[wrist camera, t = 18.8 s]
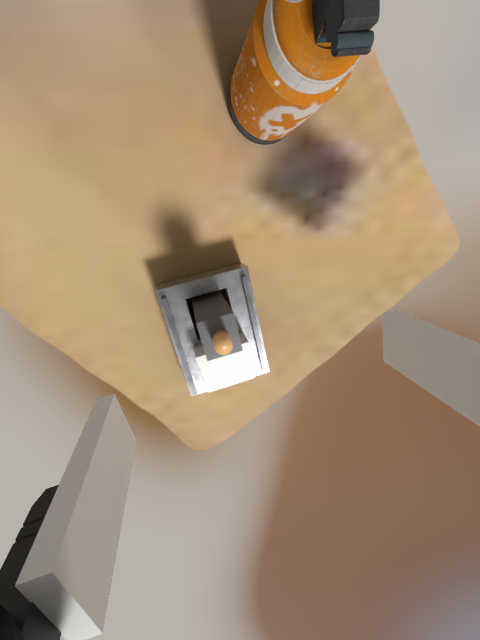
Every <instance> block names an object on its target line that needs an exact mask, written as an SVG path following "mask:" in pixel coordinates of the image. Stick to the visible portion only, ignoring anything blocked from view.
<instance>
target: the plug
mask: <svg viewBox="0 0 480 640" xmlns="http://www.w3.org/2000/svg"><path fill="white" fill-rule="evenodd" d="M191 299H192V304H193V310H194V315H195V320H196V325H197V328H198V332H199V335H200V338H201V341H202V345H203V348H204V351H205V355H206V358H207V361H210V360H213V359H217V358H220V357H223V356H227V355H230V354H233V353H236V352H240V351H243V349H242V345H241V341H240V337H239V333H238V329H237V325H236V320H235V316H234V313H233V311H232V309H231V308H230V306H229V305H228V303H227V302H226V300H225V299H224V297H223V296H222V294H221V292H220V291H219V290H217V291H213V292H210V293H206V294H202V295H199V296H195V297H191Z"/></svg>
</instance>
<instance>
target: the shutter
mask: <svg viewBox="0 0 480 640" xmlns="http://www.w3.org/2000/svg"><path fill="white" fill-rule="evenodd" d="M239 337H240V341H241V345H242V349H243V351H240V352H236V353H233V354H230V355H227V356H223V357H220V358H217V359H213V360H210V361H207V358H206V355H205V351H204V348H203V345H200V346H196V347H194V351H195V358H196V361H197V364H198V367H199V368H200V369H201V372H202V375H203V378H204V382H205V385H206V388H207V391H208V393H209V392H212V391H215V390H218V389H221V388H224V387H228V386H231V385H234V384H237V383H240V382H243V381H246V380H250V379H253V378H255V376H254V372H253V368H252V364H251V360H250V355H249V353H250V352H251V348H250V344H249V341H248V339H247V338H246V336H245V335H244V333H240V334H239Z"/></svg>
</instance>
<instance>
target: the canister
mask: <svg viewBox="0 0 480 640" xmlns="http://www.w3.org/2000/svg"><path fill="white" fill-rule="evenodd" d="M379 10H380V0H259V2H258V5H257V8H256V10H255V13H254V16H253V19H252V22H251V24H250V27H249V30H248V33H247V35H246V38H245V41H244V44H243V47H242V49H241V52H240V55H239V58H238V61H237V63H236V66H235V69H234V72H233V75H232V77H231V80H230V83H229V88H228V107H229V112H230V115H231V118H232V120H233V122H234V124H235V126H236V127H237V129H238V130H239V131H240V133H241V134H242V135H243V136H245V137H246V138H247V139H249V140H250V141H252V142H255V143H257V144H263V145H267V144H273V143H276V142H278V141H280V140H282V139H283V138H285V137H286V136H287V135H288V134H289V133H290V132H292V131H293V130H294V129H295V128H296V127H298V126H299V125H300V124H301V123H302V122H304V121H305V120H306V119H307V118H308V117H309V116H311V115H312V114H313V113H314V112H315V111H317V110H318V109H319V108H320V107H321V106H323V105H324V104H325V103H326V102H327V101H329V100H330V99H331V98H332V97H333V96H334V95H335V94H336V93H338V92H339V91H340V89H341V88H342V87H343V86H344V84H345V83H346V81H347V79H348V78H349V76H350V74H351V72H352V69H353V68H354V67H355V65H356V64H357V63H358V61H359V60H360V58H361V56H362V55H366V54H368V53H369V52H370V51H371V46H372V44H373V41H374V32H373V31H371V28H372V27H373V26H374V25H375V24H376V23H377V22H378V19H379Z"/></svg>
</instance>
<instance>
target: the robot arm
mask: <svg viewBox="0 0 480 640" xmlns="http://www.w3.org/2000/svg"><path fill="white" fill-rule="evenodd" d="M383 361H384V362H386V363H387V364H389V365H390V366H391V367H393V368H394V369H396V370H397V371H399V372H400V373H402V374H403V375H405V376H406V377H408V378H409V379H411V380H412V381H414V382H415V383H417V384H418V385H420V386H421V387H422V388H424V389H425V390H427V391H428V392H430V393H431V394H433V395H434V396H436V397H437V398H438V399H440V400H441V401H443V402H444V403H446V404H447V405H449V406H450V407H452V408H453V409H455V410H456V411H458V412H459V413H460V414H462V415H463V416H465V417H466V418H468V419H469V420H471V421H472V422H474V423H475V424H477V425H478V426H480V344H479V343H477V342H474V341H472V340H470V339H467V338H464V337H462V336H460V335H457V334H455V333H452V332H450V331H447V330H445V329H442V328H440V327H438V326H435V325H433V324H430V323H428V322H425V321H423V320H421V319H418V318H416V317H413V316H411V315H408V314H406V313H404V312H401V311H399V310H393V311H390V312H386V313H383ZM135 445H136V439H135V437H134V435H133V433H132V431H131V428H130V426H129V424H128V422H127V420H126V418H125V416H124V413H123V412H122V409H121V407H120V405H119V403H118V401H117V398H116V397H115V394H113V395H109V396H106V397H102V398H99V399H96V401H95V404H94V406H93V408H92V411H91V413H90V415H89V417H88V420H87V422H86V424H85V427H84V429H83V431H82V433H81V436H80V438H79V440H78V443H77V445H76V447H75V450H74V452H73V454H72V456H71V459H70V461H69V463H68V466H67V468H66V470H65V472H64V475H63V477H62V479H61V482H60V484H59V485H57V486H54V487H51V488H48V489H46V490H45V491H44V492H43V494H42V495H41V496H40V497H39V498H38V500H37V501H36V502H35V504H34V505H33V506H32V507H31V510H30V511H29V514H28V516H27V517H26V520H25V522H24V523H23V528H21V530H20V532H19V533H18V536H17V538H16V542H15V543H14V544H13V546H12V548H11V550H10V552H9V554H8V556H7V558H6V560H5V562H4V564H3V566H2V568H1V570H0V640H60V636H61V635H62V637H63V638H65V640H87V639H89V638H92V637H94V636H97V635H99V634H102V632H103V627H104V621H105V615H106V610H107V604H108V599H109V593H110V587H111V582H112V576H113V570H114V564H115V559H116V553H117V548H118V542H119V536H120V530H121V524H122V519H123V513H124V507H125V502H126V496H127V490H128V485H129V479H130V474H131V468H132V462H133V456H134V450H135Z"/></svg>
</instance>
